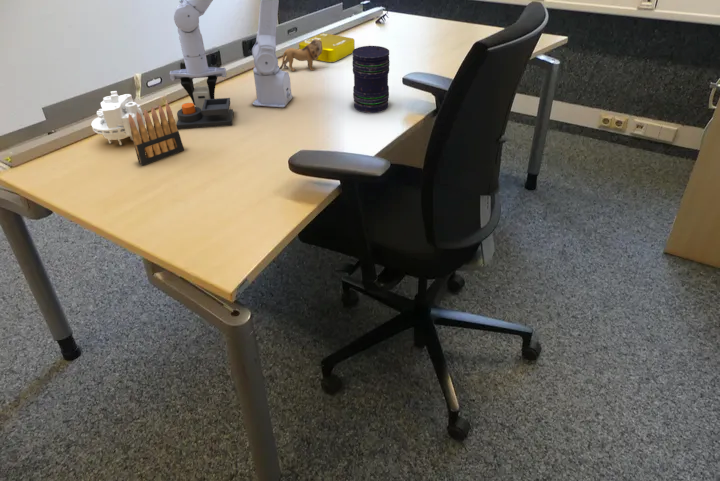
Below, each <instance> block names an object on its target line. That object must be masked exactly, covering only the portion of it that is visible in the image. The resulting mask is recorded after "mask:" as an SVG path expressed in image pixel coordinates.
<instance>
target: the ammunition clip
mask: <svg viewBox="0 0 720 481" xmlns="http://www.w3.org/2000/svg"><path fill="white" fill-rule="evenodd" d="M150 109H151V117H150V114H149V113H148V111H147V110H146V109H144V110H143V116H144V120H145V126H144V123H143V120H142V118H141V116H140V114H139V113H138V112H137V113H136V118H137V123H138V127H139V132H138V130H137V127H136V125H135V122H134V120H133V118H132V116H131V115H130V114H129V117H128V118H129V125H130V129H131V135H132V138H133V140H132V142H133V145H134V146H133V147H134V150H135V154H136V158H137V161H138V164H139V165H141V166H145V165H149V164H151V163H153V162H157V161H159V160H162V159H164V158H167V157H170V156H173V155H176V154H178V153H181V152H184V151H185V148H184V145H183V140H182V138H181V134H180V133H179V129H177V126H176V124H177V121H176V119H175V116H174V115H173V111H172V108H171V106H170V104H169V103H168V102H166V103H165V111H164V109H163V106H162V105H161V104H158V113H157V111H156V109H155V108H154V106H153V107H151V108H150ZM165 113H166V114H165ZM139 133H140V134H139Z"/></svg>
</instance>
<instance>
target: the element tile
mask: <svg viewBox="0 0 720 481" xmlns="http://www.w3.org/2000/svg"><path fill="white" fill-rule="evenodd" d="M314 39H318V40H320V41H322V48H323V49H322V53H321V54H320V55H319V56H318V58H317V59H316V60H315V61H321V62H325V63H335V62H337V61H340V60H342V59H344V58H345V57H347V56H350V55H352V54H353V50H354V49H356V48H355V47H356V45H355V39H354V38H352V37H348V36H342V35H336V34H330V33H324V32H321V33H319V34H317V35H314V36H312V37H309V38H307V39H304V40H302V41H300V42H299V43H298V49H303V48H304V47H306V46H307V45H308V44H310V43H311V41H313V40H314Z"/></svg>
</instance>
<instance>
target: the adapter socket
mask: <svg viewBox="0 0 720 481" xmlns="http://www.w3.org/2000/svg"><path fill="white" fill-rule="evenodd" d="M229 109H231V98H230V97H221V98H220V97H219V98H215V99H205V100H204V104H203V108H202V114H203V116H209V115H223V114H229Z"/></svg>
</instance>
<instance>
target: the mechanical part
mask: <svg viewBox="0 0 720 481" xmlns="http://www.w3.org/2000/svg"><path fill="white" fill-rule="evenodd" d="M99 103H100V107H101V108H99V109H98V110H96V116H97V117H96V118H94V119H93V120H92V121H91V124H90V125H91V128H92V131H93V132H94V133H96V134H98V135H102V136H103V138H104V139H106V140H107V141H108V144H112V141H118V144H119V146H122V145H123V142H122V140H124V139H127V138H129V137H130V141H133V138H132V135H131V129H130V125H129V118H128V117H129V114H130V115H131V116H132V118H133V120H134V122H135V125H136V127H137V130H138V132H139V127H138V123H137V118H136V113H137V112H138V113H139V114H140V116H141V118H142V120H143V123H144V126H145V127H146V122H145V118H144V112H143V110H142V107H141V104H140V103H137V102H136V101H134V99H133V96H132V94H131V93H125V94H121V95H119V94H118V91H117V90H112V91H110V95H107V96H104V97H102V101H101V102H99ZM139 134H140V133H139Z"/></svg>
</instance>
